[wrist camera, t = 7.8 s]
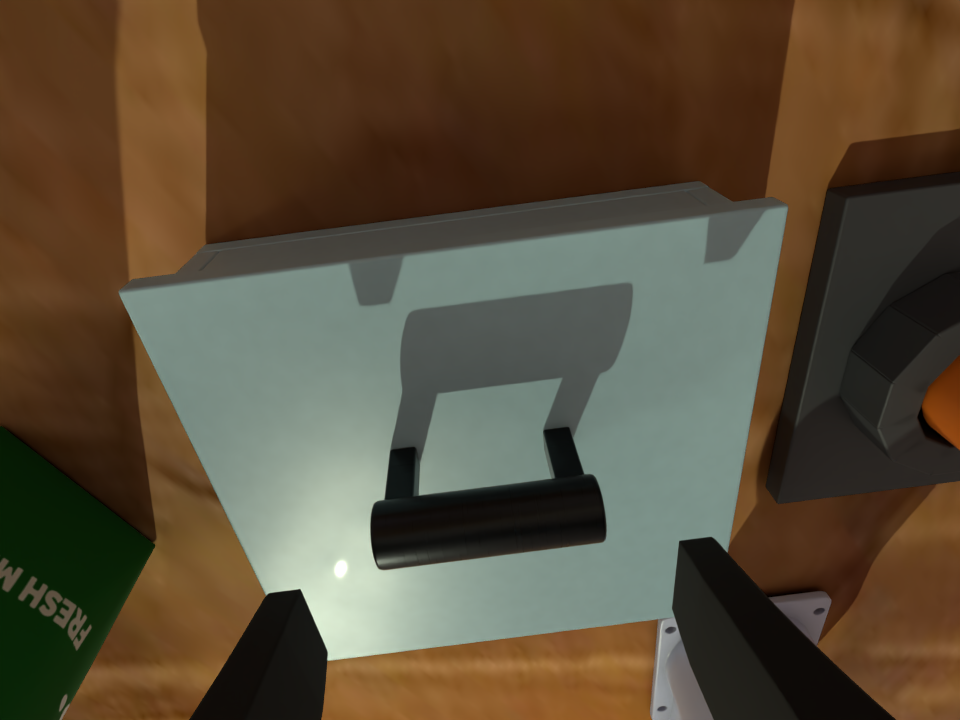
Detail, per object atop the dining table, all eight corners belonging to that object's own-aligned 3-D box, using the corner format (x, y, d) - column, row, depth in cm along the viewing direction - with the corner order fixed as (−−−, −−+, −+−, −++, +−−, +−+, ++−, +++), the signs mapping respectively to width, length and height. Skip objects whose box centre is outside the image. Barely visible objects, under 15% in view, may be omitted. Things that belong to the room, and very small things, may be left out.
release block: (985, 458, 23) (1055, 514, 20) (764, 486, 23) (806, 546, 20) (1131, 148, 16) (1259, 171, 14) (826, 188, 16) (898, 217, 14)
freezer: (204, 244, 16) (143, 301, 13) (700, 180, 16) (768, 221, 13) (322, 554, 23) (303, 644, 20) (670, 511, 23) (708, 593, 20)
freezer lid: (131, 278, 12) (14, 374, 9) (773, 195, 12) (900, 260, 9) (302, 645, 20) (274, 777, 16) (709, 594, 20) (766, 715, 16)
